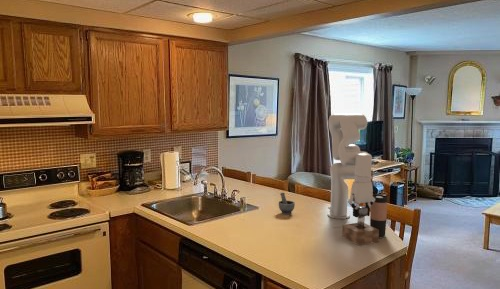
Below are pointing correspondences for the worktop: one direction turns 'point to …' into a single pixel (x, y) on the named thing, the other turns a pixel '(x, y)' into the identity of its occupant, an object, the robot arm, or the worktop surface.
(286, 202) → the mortar and pestle
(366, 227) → the block
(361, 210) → the peg
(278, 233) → the worktop surface
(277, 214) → the worktop surface
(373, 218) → the travel mug
